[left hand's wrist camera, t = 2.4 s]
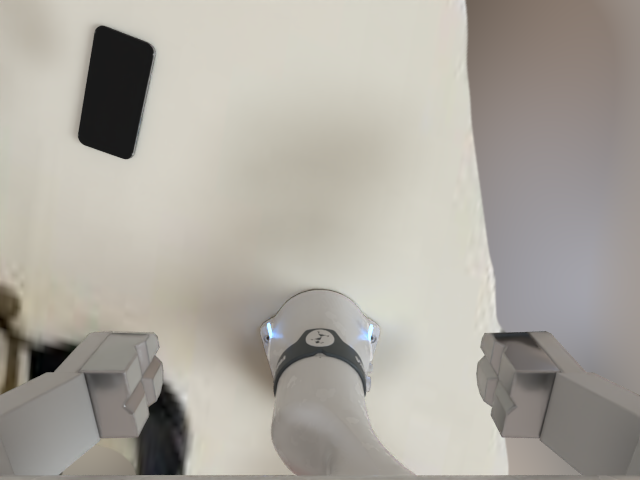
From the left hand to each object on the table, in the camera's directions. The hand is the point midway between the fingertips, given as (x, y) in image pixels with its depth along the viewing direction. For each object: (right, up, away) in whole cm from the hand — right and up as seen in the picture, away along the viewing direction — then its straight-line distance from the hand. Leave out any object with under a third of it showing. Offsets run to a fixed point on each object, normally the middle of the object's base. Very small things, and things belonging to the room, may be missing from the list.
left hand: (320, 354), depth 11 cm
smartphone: (-26, +21, +43) cm, 55 cm away
